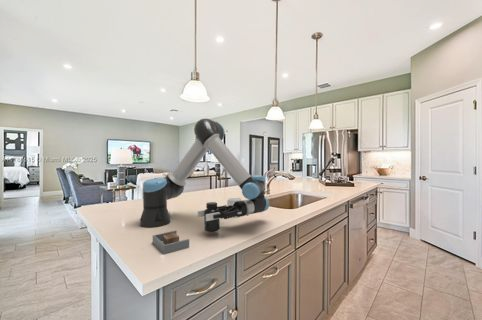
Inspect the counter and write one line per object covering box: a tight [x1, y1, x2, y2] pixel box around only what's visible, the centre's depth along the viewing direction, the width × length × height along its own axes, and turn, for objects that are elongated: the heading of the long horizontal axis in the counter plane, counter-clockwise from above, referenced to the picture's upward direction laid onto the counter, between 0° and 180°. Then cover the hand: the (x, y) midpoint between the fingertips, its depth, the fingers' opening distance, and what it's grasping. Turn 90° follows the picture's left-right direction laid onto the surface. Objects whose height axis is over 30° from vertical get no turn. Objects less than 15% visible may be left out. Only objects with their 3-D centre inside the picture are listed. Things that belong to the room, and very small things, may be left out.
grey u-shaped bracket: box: [152, 230, 190, 255], centre depth 87 cm, size 10×14×3 cm
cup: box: [226, 197, 242, 218], centre depth 131 cm, size 8×12×10 cm
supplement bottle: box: [203, 201, 221, 233], centre depth 99 cm, size 7×7×12 cm
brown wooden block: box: [162, 232, 180, 245], centre depth 88 cm, size 5×5×4 cm
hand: (201, 216), depth 96 cm, fingers closed on supplement bottle, 7 cm apart
